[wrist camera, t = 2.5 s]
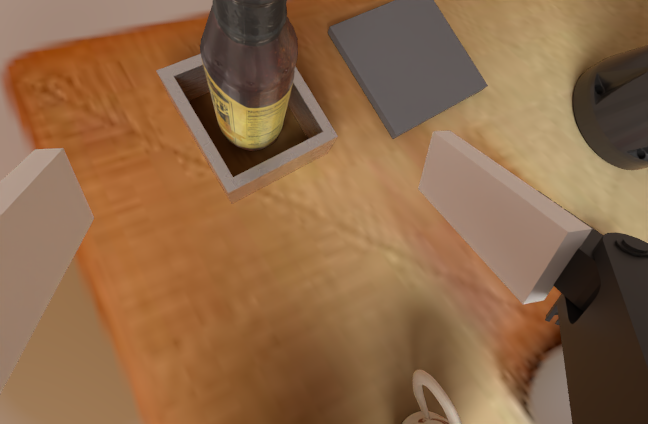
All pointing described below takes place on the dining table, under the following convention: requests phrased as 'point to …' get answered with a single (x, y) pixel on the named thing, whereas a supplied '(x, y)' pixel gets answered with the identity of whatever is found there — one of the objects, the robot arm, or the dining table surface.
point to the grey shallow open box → (191, 83)
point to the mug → (425, 420)
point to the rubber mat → (407, 62)
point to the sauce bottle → (249, 68)
